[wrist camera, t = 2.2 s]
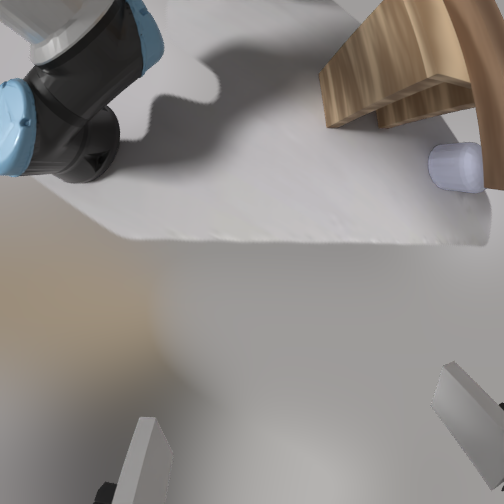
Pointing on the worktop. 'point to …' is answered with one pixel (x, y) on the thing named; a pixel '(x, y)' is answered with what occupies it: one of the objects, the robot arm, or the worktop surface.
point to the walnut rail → (484, 76)
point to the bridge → (398, 67)
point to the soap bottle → (457, 167)
